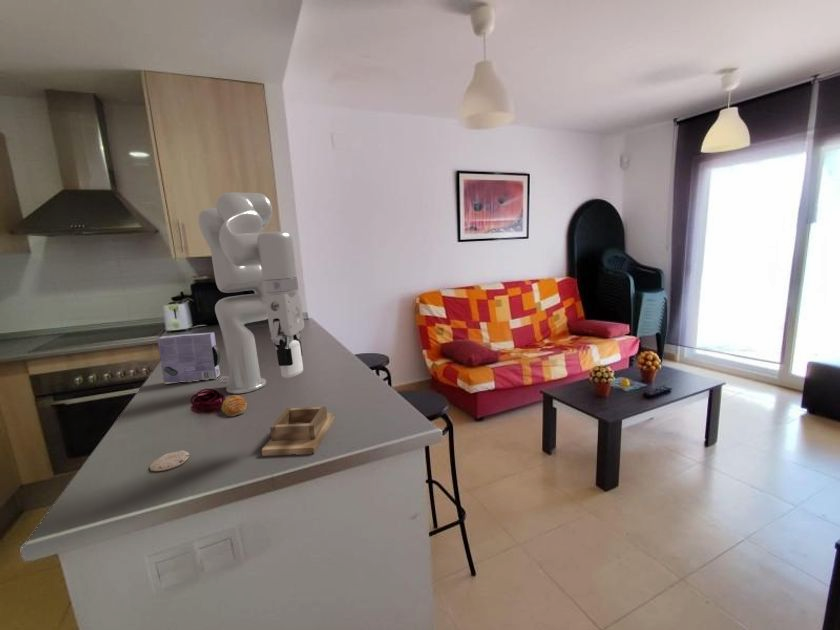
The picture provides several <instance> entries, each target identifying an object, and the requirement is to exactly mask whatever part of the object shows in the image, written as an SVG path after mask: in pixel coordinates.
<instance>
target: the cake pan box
mask: <svg viewBox="0 0 840 630" xmlns="http://www.w3.org/2000/svg"><path fill="white" fill-rule="evenodd" d="M157 345H158V352H159V358H160V364H161V371H162V377H163V384H164V383H165V382H180V381H193V380H205V381H207V380H206V379H215V378H217V377H218V376H219V375H220V376H221V372H220V361H221V351H220V350H219V347H218V346H217V343H216V335H215V332H214V331H213V332H203V333H187V334H177V335H164V336H163V335H162V336H160V337H158V338H157ZM218 378H219V377H218ZM218 378H217V379H218Z"/></svg>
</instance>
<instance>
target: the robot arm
mask: <svg viewBox="0 0 840 630" xmlns="http://www.w3.org/2000/svg"><path fill="white" fill-rule="evenodd" d="M272 206H273V205H272V203H271V200H270V199H269V198H268V197H267V195H265V194H264V193H261V192H237V191H236V192H235V191H231V192H225V193H222V194H221V195H219V197H218V198H217V199H216V201H215V207H211V208H206V209H203V210H201V211H200V213H199V214H198V224H199V229H200V232H201V235H202V236H203V238H204V241H205V242H206V243H207V245H208V248H209V250H210V251H209V252H210V254H211V262H212V266H213V268H212V269H213V273H214V280H215V284H216V286H217V289H218V290H219V291H220V292H221V293H227V294H229V293H240V292H245V291H246V292H248V291H253V292H254V293H250V294H240V295H239V294H238V295H234V296H233V295H232V296H227V297H223V298H221V299H218V301H217V302H216V304H215V306H214V312H215V315H216V318H217V319H216V320H217V321H218V324H219V327H220V331H221V332H220V333H221V335H222V340H223V347H224V352H225V358H226V363H227V370H228V376H227V375H225V376H224V375H220V377H219V384H227V386H226V388H225V389H226V392H227V393H229V394H234V395H237V394H245V393H250V392H254V391H256V390H259V389H261V388H264V387H265V386H266V385H267V380H266V378H264V377H262V376H261V371H260V366H259V365H260V364H259V358H258V353H257V345H256V339H255V335H254V333H253V332H252V331H251V330H250V329H248V328H247V327H246V326H245V324H249V323H254V322H261V321H268V326H269V328H268V329H269V333H270V335H271V337H270V340H271V341H272V343H273V344H274V347H275V350H276V356H277V363H278V366H279V367H280V366H290V365H292V364H293V360H292V353H291V348H289V336H293V340H297V341H299V343H300V348H301V356H302V357H303V349H302V348H303V347H302V342H301V340H302V336H301V331H303V329H304V327H305V317H304V314H303V307H302V302H301V299H300V295H299V294H300V293H299V291H300V290H299V283H298V274H297V268H296V260H295V259H296V258H295V252H294V251H295V249H294V241H293V237H292V234H290V232H287V231H265V232H263V231H264V230H265V229H266V227H267V226H268V225H269V223H270V222H271V220H272V218H273V207H272ZM282 333H284V334H285V335H282ZM284 338H285V342H284V341H283V339H284Z"/></svg>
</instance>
